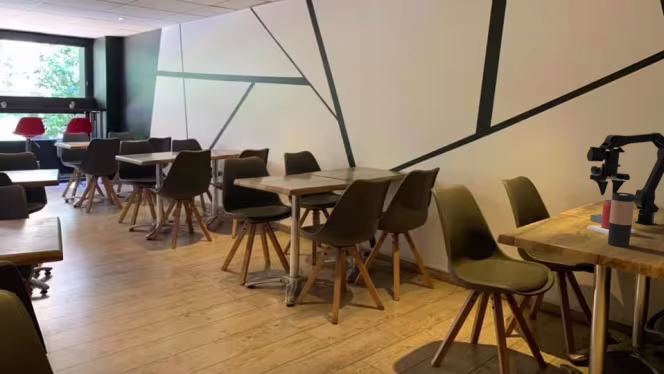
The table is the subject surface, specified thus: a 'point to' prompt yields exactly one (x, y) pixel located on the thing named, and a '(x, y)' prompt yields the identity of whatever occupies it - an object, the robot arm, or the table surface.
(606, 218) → the beer can
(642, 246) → the table surface
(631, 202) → the travel mug
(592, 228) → the paper card
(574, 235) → the table surface
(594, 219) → the grey square frame
